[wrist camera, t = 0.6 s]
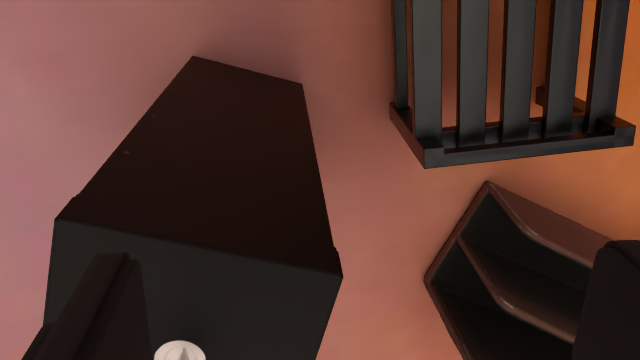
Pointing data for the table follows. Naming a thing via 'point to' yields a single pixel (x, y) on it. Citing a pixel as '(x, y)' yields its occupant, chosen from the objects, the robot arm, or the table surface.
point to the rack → (508, 83)
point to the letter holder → (513, 279)
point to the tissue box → (213, 220)
